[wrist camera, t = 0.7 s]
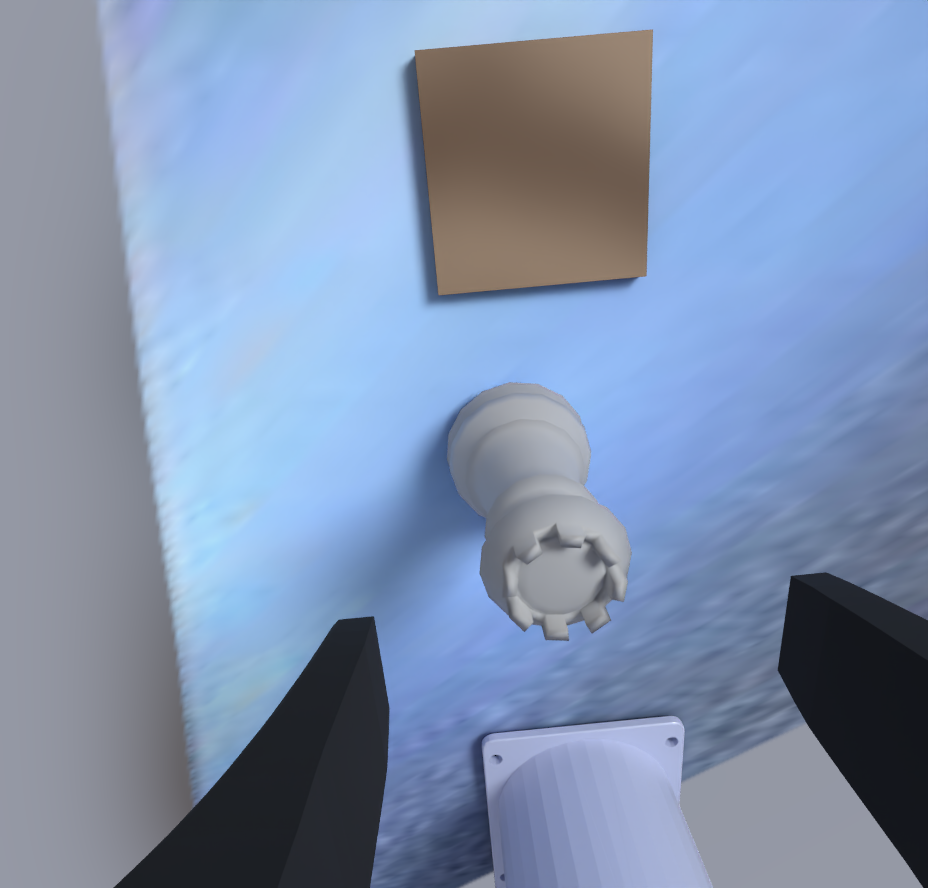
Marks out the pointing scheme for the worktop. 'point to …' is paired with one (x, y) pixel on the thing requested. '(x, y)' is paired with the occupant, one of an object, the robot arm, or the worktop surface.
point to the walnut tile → (537, 160)
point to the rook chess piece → (538, 509)
